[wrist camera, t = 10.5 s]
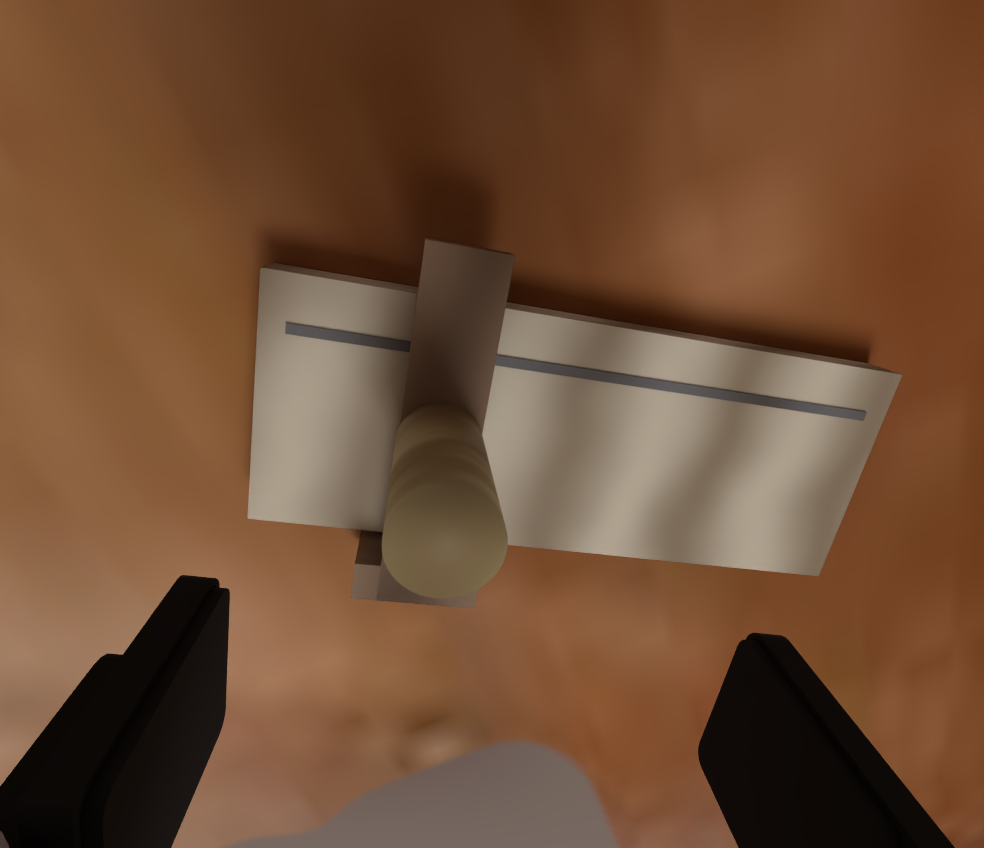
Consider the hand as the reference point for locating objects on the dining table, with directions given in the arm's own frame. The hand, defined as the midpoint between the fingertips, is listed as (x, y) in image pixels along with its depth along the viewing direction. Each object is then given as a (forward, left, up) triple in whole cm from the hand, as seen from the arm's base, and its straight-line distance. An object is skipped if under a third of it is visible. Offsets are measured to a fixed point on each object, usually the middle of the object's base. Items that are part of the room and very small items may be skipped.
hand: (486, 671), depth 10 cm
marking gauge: (+1, 0, -16) cm, 16 cm away
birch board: (-5, 0, -16) cm, 16 cm away
